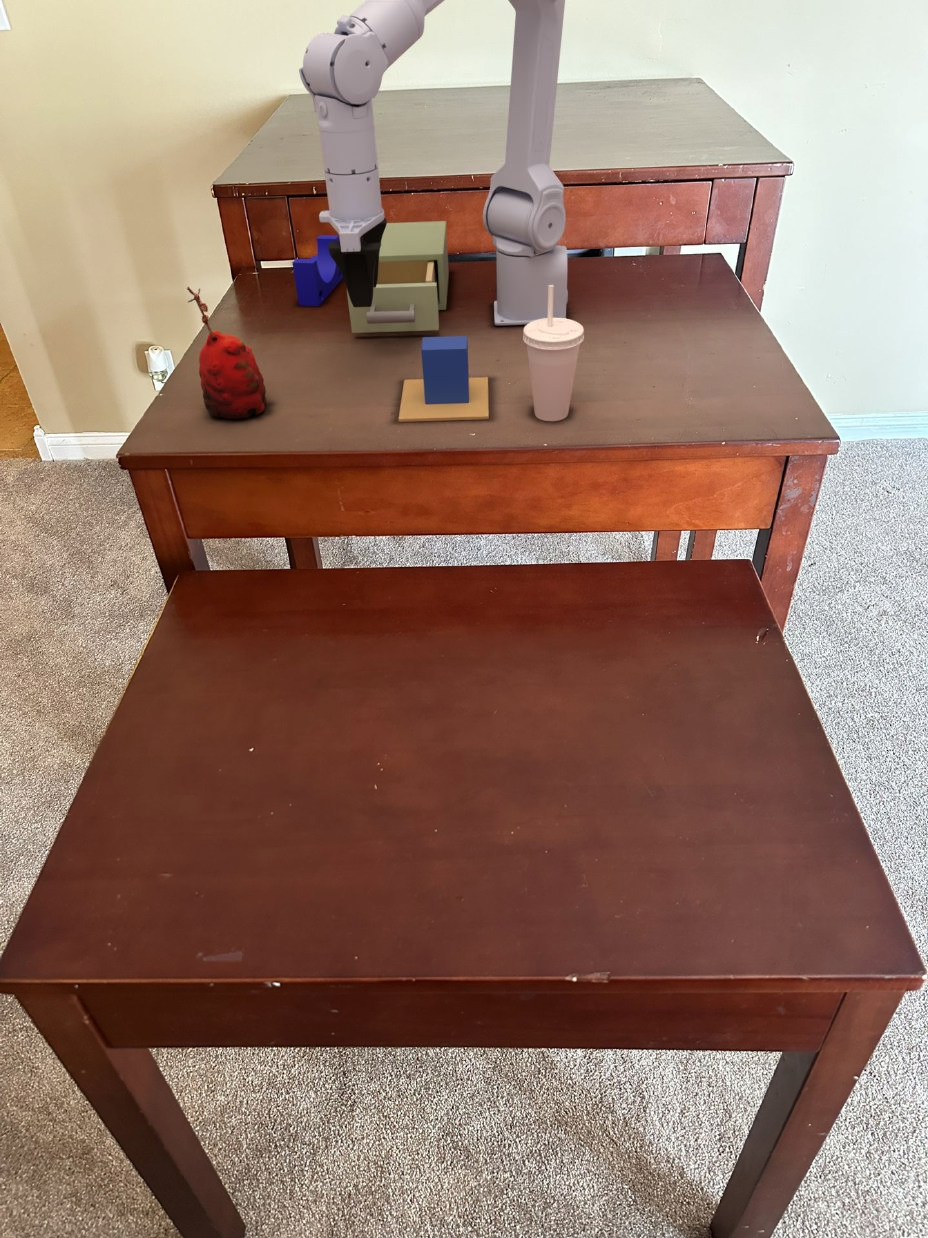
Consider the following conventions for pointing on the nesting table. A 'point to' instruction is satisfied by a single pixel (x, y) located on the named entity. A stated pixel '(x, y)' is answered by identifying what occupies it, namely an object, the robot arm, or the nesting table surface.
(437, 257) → the cabinet
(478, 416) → the mat
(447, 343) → the blue rectangular block
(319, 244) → the cable clip
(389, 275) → the drawer
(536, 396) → the smoothie
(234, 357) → the red clay folk toy
